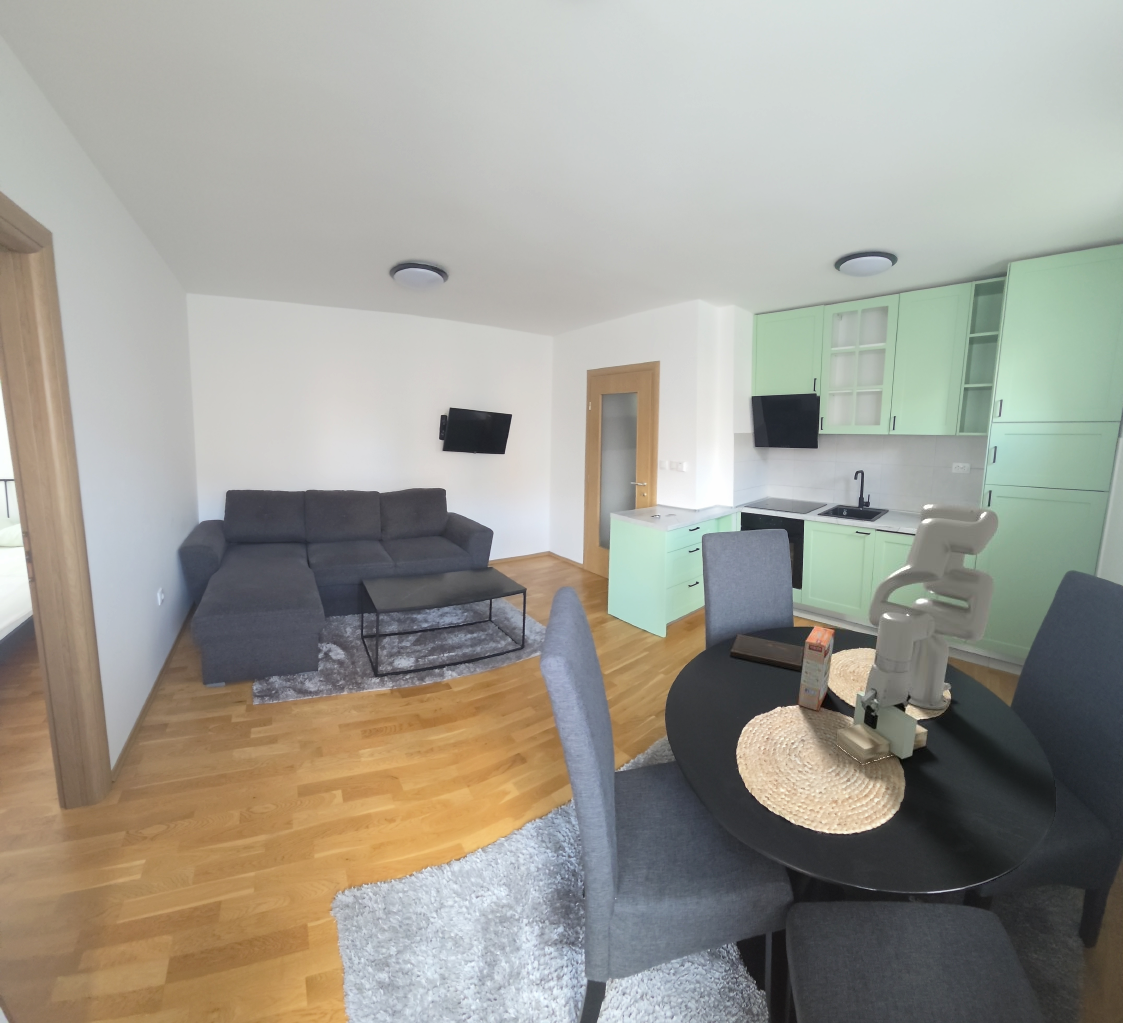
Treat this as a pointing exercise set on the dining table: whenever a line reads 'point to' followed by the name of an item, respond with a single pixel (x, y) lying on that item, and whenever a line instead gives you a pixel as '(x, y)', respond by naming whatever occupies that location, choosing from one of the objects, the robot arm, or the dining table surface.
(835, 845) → the dining table surface
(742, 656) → the hardcover book
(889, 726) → the pale green plate
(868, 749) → the slotted rail
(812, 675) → the cracker box
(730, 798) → the dining table surface
